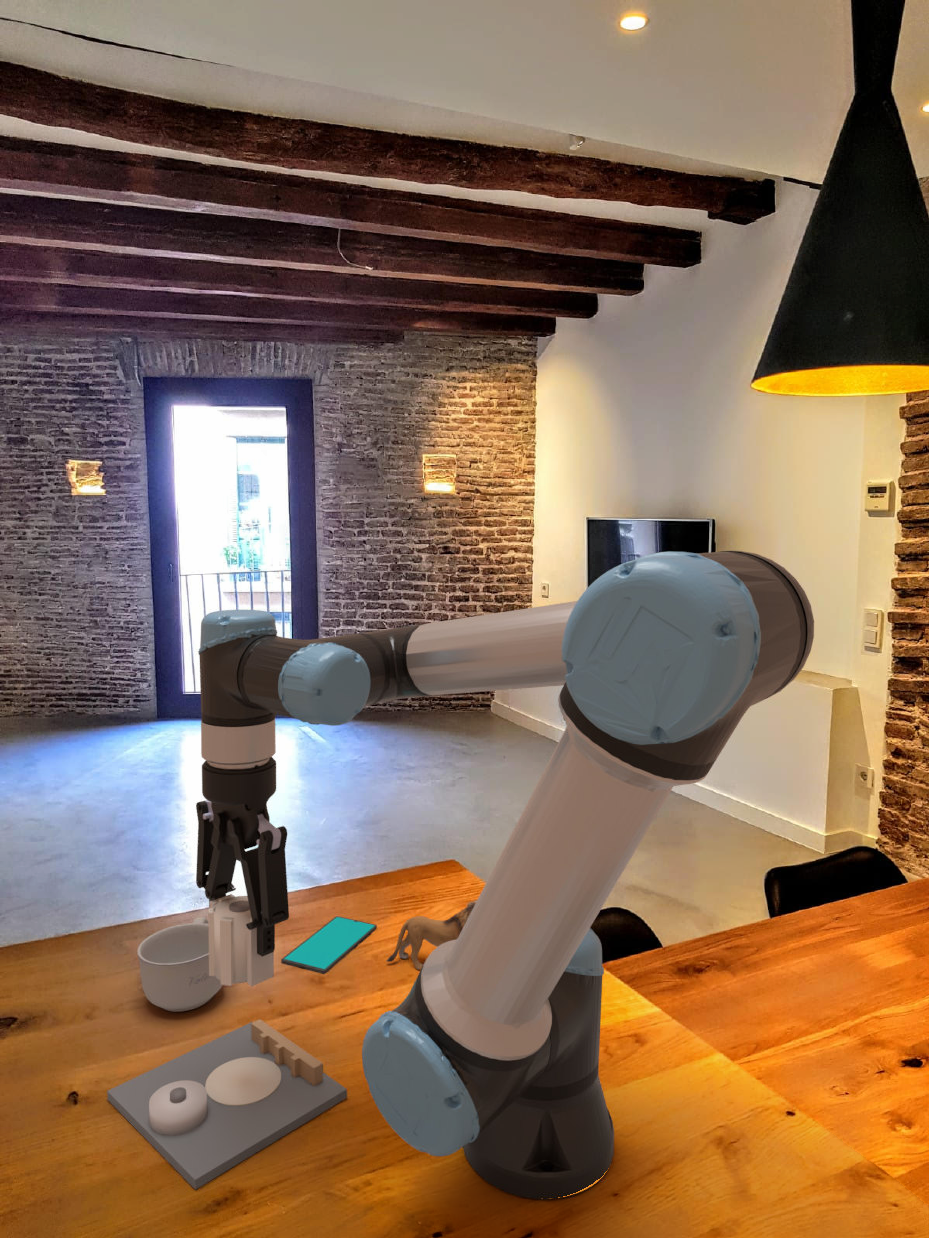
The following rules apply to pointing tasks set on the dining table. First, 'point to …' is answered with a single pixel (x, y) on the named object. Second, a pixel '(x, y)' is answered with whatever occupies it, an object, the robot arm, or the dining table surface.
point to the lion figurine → (429, 933)
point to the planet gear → (229, 939)
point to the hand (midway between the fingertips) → (241, 966)
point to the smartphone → (329, 944)
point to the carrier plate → (226, 1100)
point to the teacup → (178, 967)
